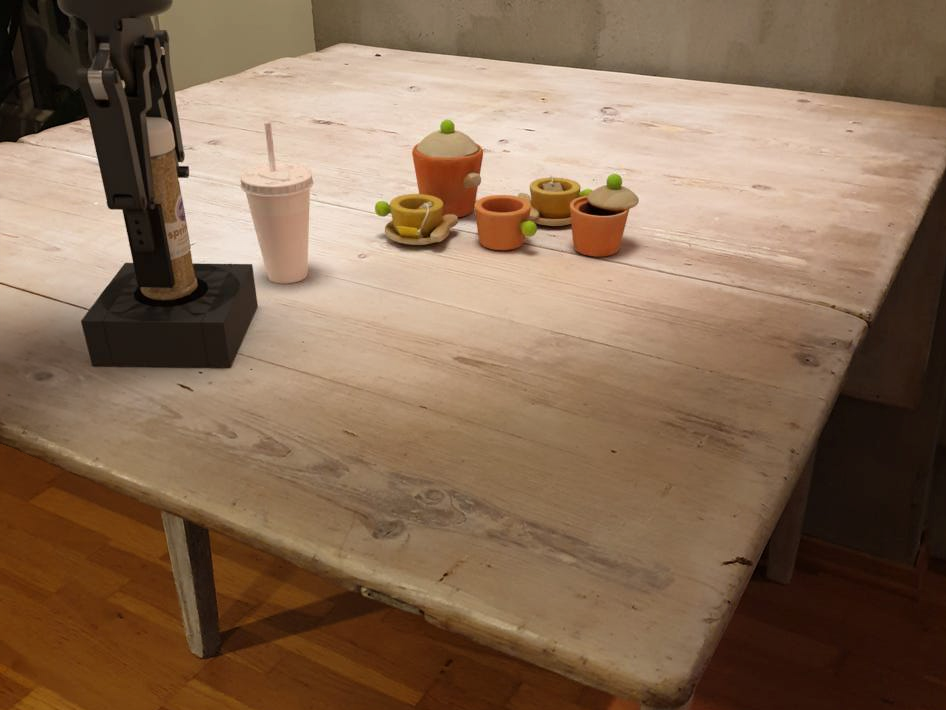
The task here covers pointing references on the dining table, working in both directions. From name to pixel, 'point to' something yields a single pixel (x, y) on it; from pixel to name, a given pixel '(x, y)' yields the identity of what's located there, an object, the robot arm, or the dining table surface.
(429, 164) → the toy tea set
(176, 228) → the sprinkles bottle
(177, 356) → the socket pad
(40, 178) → the dining table surface
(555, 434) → the dining table surface
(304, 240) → the smoothie
